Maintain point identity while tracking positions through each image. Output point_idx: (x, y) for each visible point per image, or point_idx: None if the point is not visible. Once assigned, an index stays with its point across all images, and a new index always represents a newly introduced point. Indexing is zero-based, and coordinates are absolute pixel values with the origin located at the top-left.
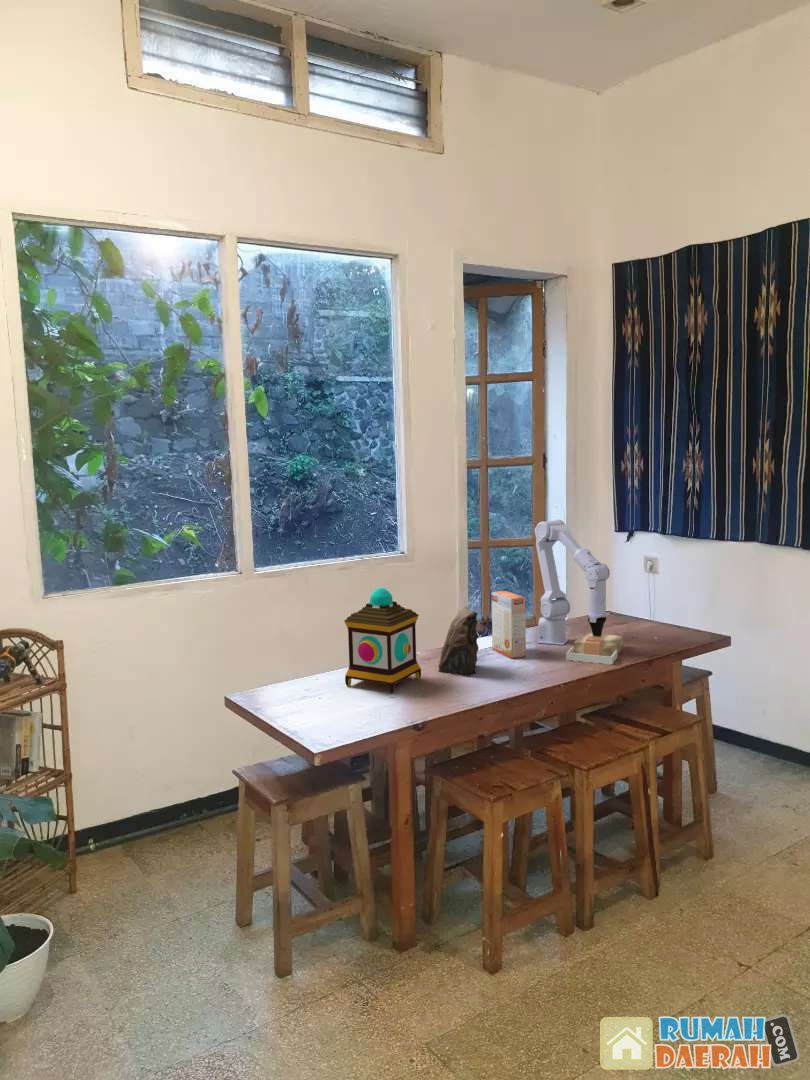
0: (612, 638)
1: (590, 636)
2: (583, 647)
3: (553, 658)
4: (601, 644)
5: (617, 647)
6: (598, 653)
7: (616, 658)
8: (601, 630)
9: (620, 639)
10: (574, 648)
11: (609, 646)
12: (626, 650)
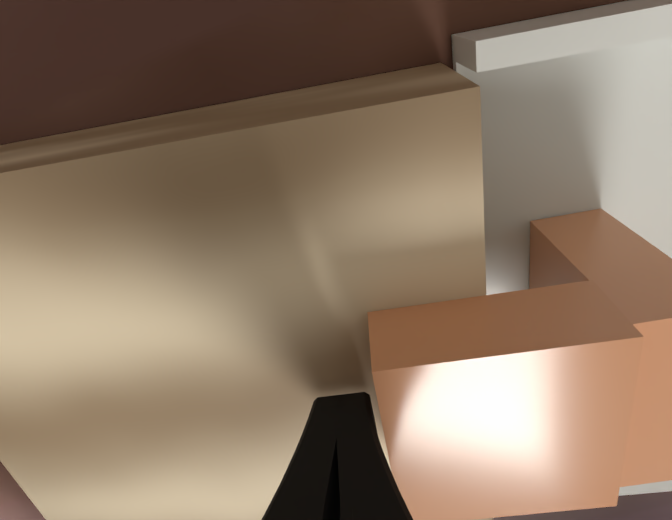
0: (68, 292)
1: (429, 506)
2: None
3: (659, 499)
4: (539, 296)
5: (311, 104)
6: (633, 240)
7: (505, 24)
8: (365, 503)
9: (27, 172)
10: None
11: (477, 186)
12: (42, 63)
